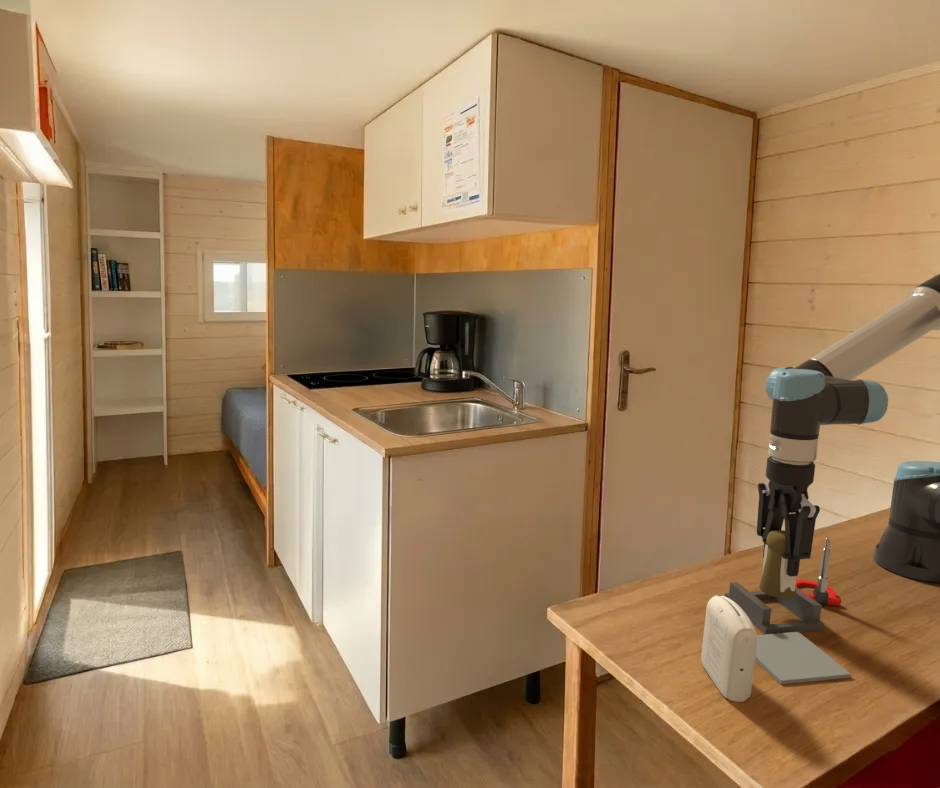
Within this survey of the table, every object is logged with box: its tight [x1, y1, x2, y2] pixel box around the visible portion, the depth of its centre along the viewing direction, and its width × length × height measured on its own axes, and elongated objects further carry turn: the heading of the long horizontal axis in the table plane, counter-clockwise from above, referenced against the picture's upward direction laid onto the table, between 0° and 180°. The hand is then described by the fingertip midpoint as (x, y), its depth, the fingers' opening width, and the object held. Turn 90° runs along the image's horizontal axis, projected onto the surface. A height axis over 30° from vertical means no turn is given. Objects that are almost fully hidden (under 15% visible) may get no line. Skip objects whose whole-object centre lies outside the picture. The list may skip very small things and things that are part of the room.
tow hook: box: [796, 537, 841, 607], centre depth 125 cm, size 8×13×9 cm
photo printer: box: [700, 595, 758, 703], centre depth 97 cm, size 10×4×12 cm, turn 3°
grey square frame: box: [724, 581, 825, 635], centre depth 117 cm, size 11×12×4 cm
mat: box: [755, 632, 852, 685], centre depth 104 cm, size 12×12×1 cm
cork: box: [758, 529, 796, 599], centre depth 116 cm, size 6×6×11 cm
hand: (778, 584), depth 117 cm, fingers closed on cork, 4 cm apart
